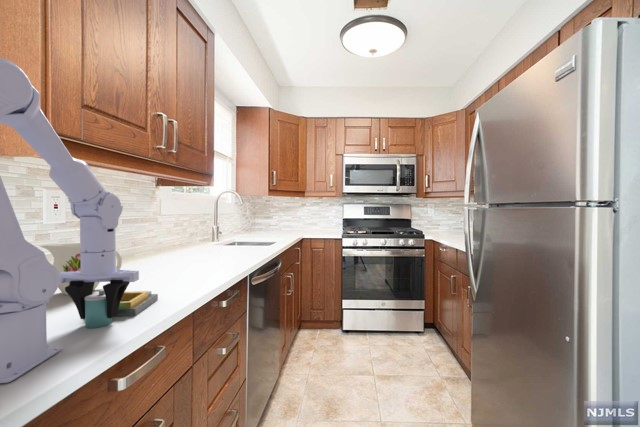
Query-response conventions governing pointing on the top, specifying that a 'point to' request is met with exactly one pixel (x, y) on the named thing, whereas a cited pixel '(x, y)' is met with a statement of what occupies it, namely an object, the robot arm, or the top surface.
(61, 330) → the top surface
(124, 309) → the gray yellow rectangular tray
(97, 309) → the spout can
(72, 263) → the pitcher
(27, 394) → the top surface
